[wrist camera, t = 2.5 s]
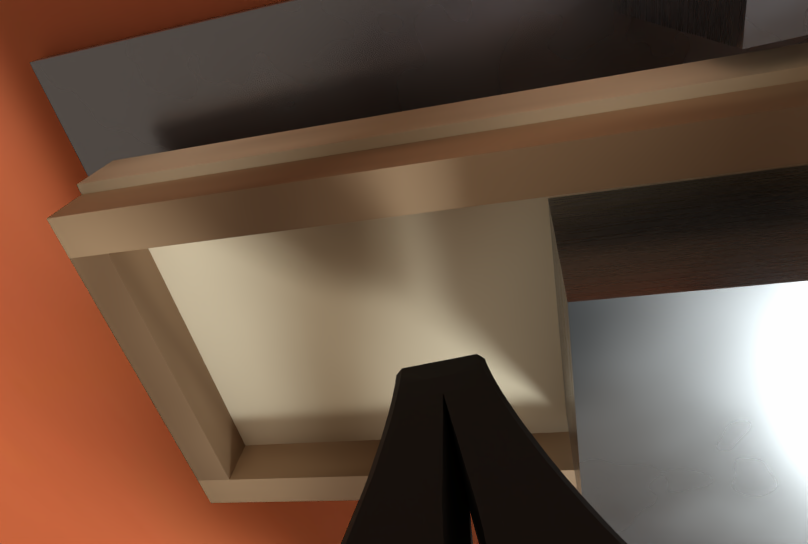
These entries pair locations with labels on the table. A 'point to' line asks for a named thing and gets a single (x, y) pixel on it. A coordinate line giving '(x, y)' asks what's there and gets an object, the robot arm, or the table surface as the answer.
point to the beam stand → (375, 62)
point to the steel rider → (688, 356)
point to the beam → (388, 257)
